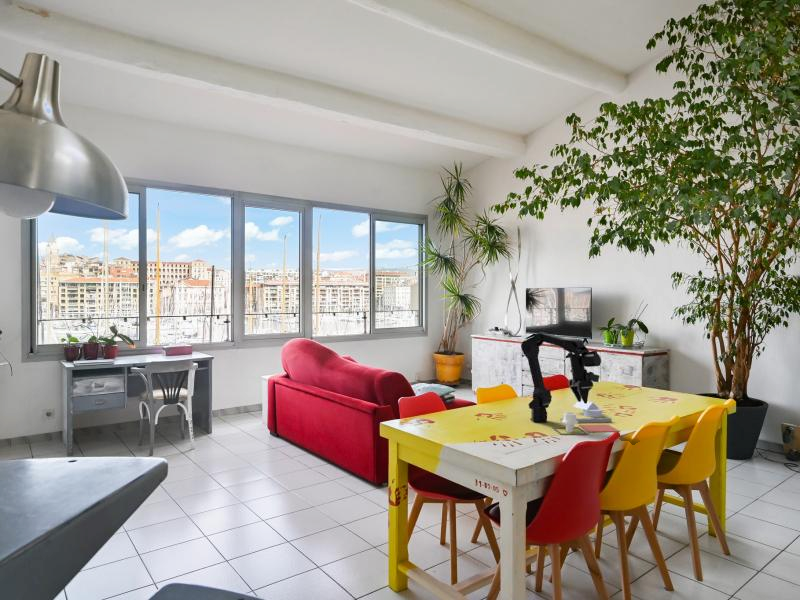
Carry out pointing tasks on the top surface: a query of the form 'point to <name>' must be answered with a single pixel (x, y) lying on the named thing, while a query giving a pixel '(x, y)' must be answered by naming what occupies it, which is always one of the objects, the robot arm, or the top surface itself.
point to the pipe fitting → (569, 421)
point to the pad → (599, 428)
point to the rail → (592, 420)
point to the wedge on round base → (589, 409)
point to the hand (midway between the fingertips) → (582, 402)
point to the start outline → (570, 433)
